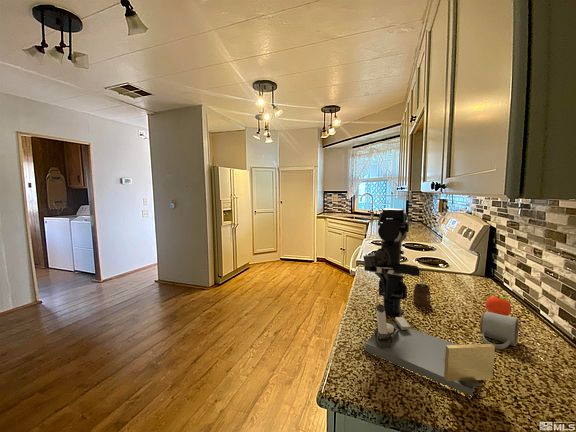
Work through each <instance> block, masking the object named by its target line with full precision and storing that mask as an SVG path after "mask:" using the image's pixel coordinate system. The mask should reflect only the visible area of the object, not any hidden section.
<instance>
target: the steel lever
mask: <svg viewBox="0 0 576 432" xmlns="http://www.w3.org/2000/svg"><path fill="white" fill-rule="evenodd" d="M375 309H376V310H375V311H376V321H377V327H378V332H379V333H377V336H378V339H379V340H389V339H390V336H389V333H388V332H387V323H386V322H387V316H386V315H387V314H385V308H384V306H383V304H377V305H376V308H375Z"/></svg>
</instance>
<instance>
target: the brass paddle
mask: <svg viewBox="0 0 576 432" xmlns="http://www.w3.org/2000/svg"><path fill="white" fill-rule="evenodd" d="M492 344H493V343H492ZM492 344H486V343H476V344H474V343H473V344H471V343H470V344H457V345H446V352H445V370H444V378H445V379H446V380H447V381H461V382H462V383H463V384H464V385H465V386H466V387H473V386H475V387H481V382H479V381H485V380H488V381H489V380H493V376H494V365H495V350H496V349H495V346H493V345H492Z"/></svg>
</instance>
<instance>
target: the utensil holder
mask: <svg viewBox="0 0 576 432" xmlns="http://www.w3.org/2000/svg"><path fill="white" fill-rule="evenodd" d="M425 275H426V271H423V270H420V276H419V280H421V283H420V282H418V283H415V284H414V289H413V291H412V292H413V294H412V300H413V303H414V304H415V305H417V306H421V307H428V306H430V304H431V291H430V290H431V288H430V285H428V284H426V283H427V282H426V279H425Z"/></svg>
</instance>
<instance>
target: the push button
mask: <svg viewBox="0 0 576 432" xmlns="http://www.w3.org/2000/svg"><path fill="white" fill-rule="evenodd" d="M387 332H388V333H389V335H392V334H393V333H394V327H393V325H391V324H388V323H387Z"/></svg>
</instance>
